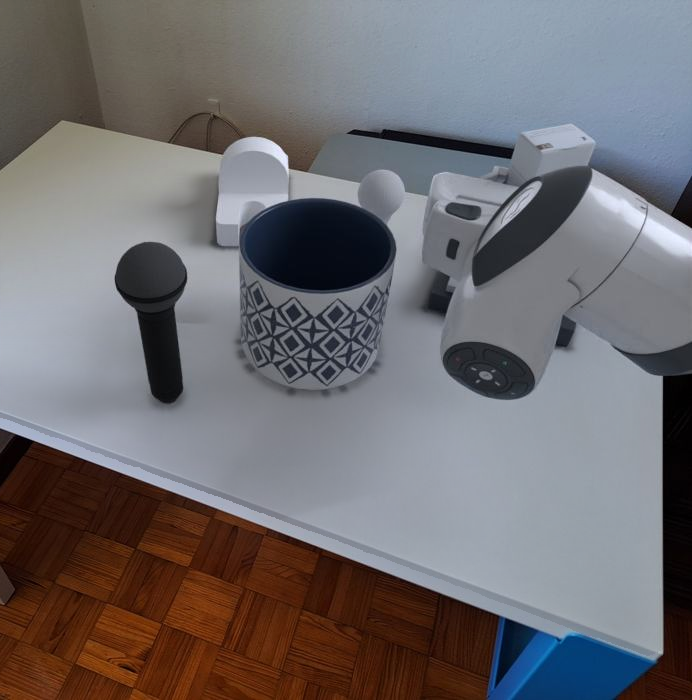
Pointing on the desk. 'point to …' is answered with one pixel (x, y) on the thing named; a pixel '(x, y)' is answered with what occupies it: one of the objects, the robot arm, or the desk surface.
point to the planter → (314, 291)
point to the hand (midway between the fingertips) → (541, 181)
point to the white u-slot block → (249, 184)
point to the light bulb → (381, 193)
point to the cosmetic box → (548, 152)
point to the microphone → (155, 311)
